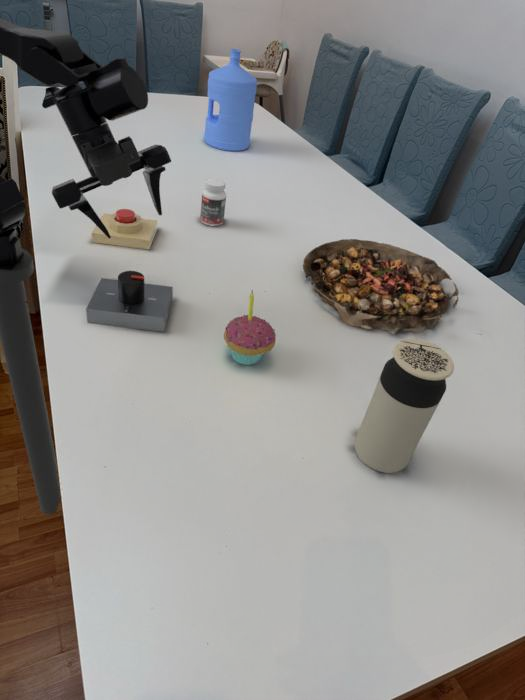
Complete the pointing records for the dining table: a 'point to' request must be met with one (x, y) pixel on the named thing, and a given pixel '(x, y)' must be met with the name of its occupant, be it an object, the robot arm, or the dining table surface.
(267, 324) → the cupcake
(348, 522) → the dining table surface
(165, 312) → the panel
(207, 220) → the pill bottle
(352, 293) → the food dish
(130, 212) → the button
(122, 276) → the knob
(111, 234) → the housing
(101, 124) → the robot arm
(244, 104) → the water jug
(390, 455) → the travel mug
